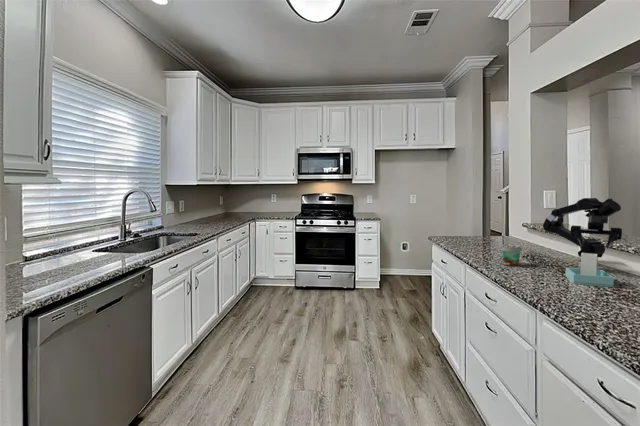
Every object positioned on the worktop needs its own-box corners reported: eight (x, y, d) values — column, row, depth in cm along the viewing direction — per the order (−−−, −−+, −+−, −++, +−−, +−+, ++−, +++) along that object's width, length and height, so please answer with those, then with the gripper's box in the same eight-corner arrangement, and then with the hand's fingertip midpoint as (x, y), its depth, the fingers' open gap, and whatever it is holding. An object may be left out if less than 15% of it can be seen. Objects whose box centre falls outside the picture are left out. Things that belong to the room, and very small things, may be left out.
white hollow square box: (580, 279, 151) (581, 254, 151) (580, 277, 156) (581, 252, 155) (595, 281, 148) (597, 256, 147) (596, 278, 152) (597, 254, 151)
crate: (565, 275, 161) (565, 267, 161) (601, 278, 156) (602, 269, 155) (573, 283, 148) (573, 274, 148) (613, 286, 143) (613, 277, 143)
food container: (513, 268, 177) (514, 248, 177) (501, 265, 182) (502, 246, 182) (526, 264, 184) (526, 246, 183) (514, 262, 189) (514, 244, 188)
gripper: (571, 208, 167) (568, 234, 160) (623, 210, 156) (622, 237, 148) (572, 223, 174) (569, 248, 167) (621, 225, 162) (621, 253, 155)
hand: (594, 246), depth 159 cm, fingers open, 9 cm apart
